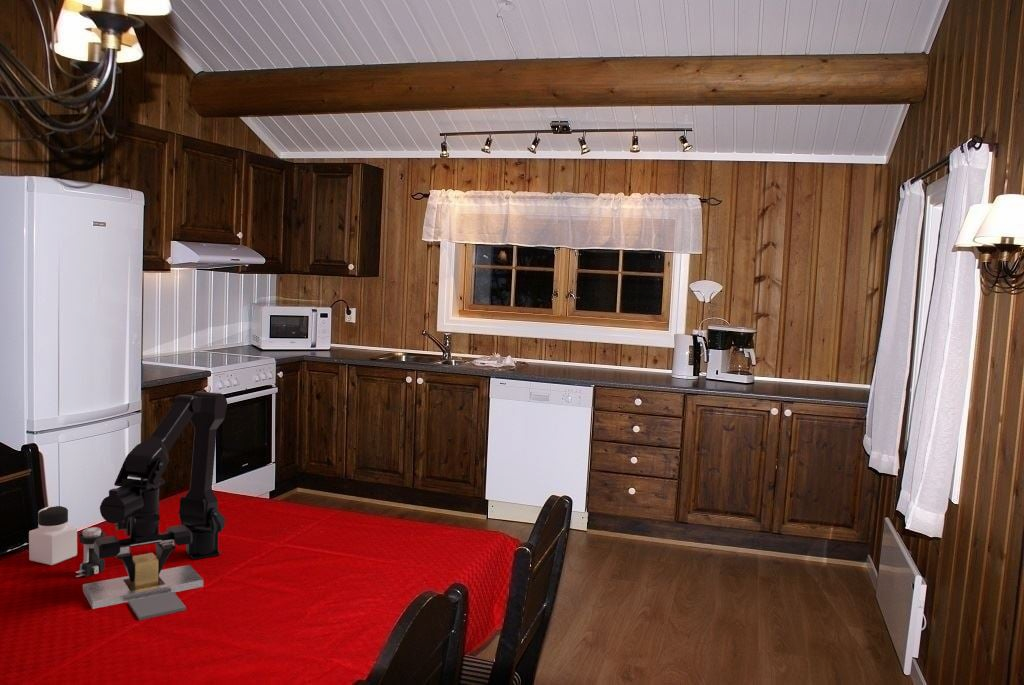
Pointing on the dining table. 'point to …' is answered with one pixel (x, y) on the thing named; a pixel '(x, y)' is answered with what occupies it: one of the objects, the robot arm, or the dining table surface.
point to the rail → (120, 593)
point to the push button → (90, 552)
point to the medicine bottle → (52, 537)
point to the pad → (156, 605)
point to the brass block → (144, 571)
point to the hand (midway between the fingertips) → (144, 579)
